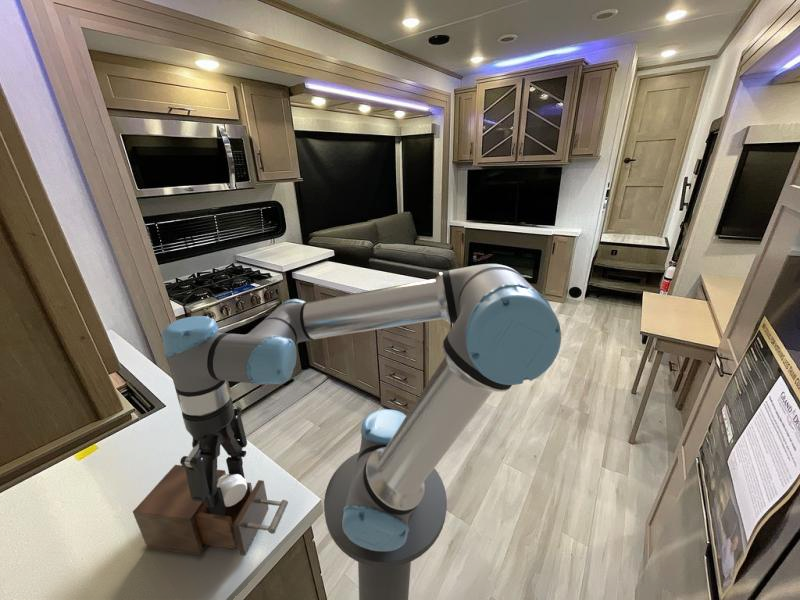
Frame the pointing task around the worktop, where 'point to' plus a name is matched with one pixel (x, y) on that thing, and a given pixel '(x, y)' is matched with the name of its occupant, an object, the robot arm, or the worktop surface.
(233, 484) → the white rounded lump
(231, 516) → the drawer
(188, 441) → the worktop surface
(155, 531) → the cabinet
